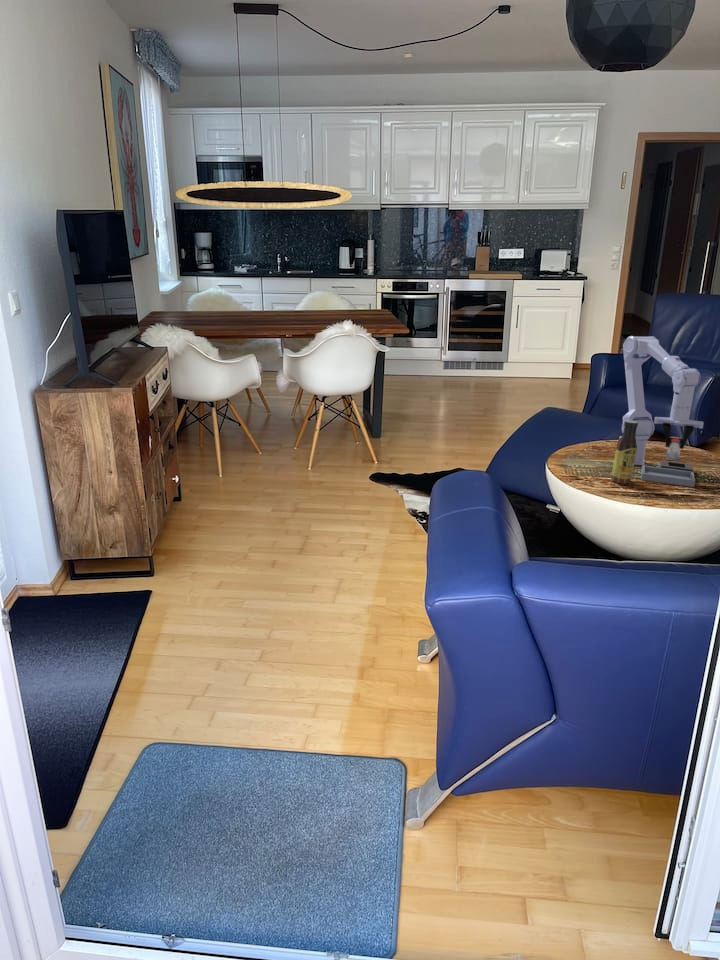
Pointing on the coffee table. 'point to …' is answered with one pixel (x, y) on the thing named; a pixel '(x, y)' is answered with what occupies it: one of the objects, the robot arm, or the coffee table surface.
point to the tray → (668, 476)
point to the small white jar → (674, 448)
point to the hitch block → (676, 465)
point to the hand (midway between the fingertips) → (674, 447)
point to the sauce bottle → (625, 454)
